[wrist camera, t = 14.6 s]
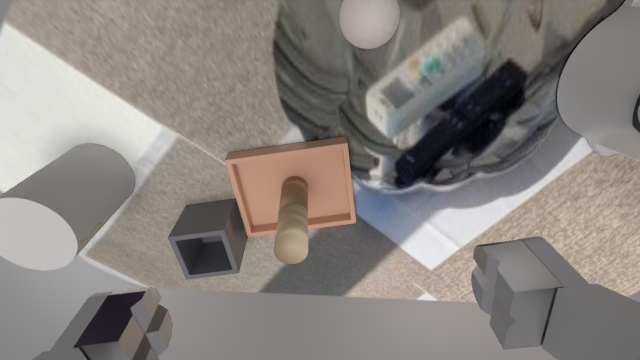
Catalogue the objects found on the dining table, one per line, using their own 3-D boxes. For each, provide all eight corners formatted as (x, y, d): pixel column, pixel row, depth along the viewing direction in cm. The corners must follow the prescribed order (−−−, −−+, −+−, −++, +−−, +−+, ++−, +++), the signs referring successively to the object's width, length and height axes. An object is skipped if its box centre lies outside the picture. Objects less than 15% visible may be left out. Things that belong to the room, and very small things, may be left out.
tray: (345, 136, 40) (347, 143, 38) (354, 213, 45) (356, 222, 43) (228, 152, 41) (224, 160, 39) (250, 227, 46) (247, 237, 44)
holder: (235, 198, 44) (224, 229, 38) (247, 238, 47) (238, 272, 41) (186, 205, 44) (167, 237, 38) (201, 244, 47) (186, 279, 41)
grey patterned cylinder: (83, 207, 44) (11, 275, 33) (50, 149, 40) (-43, 204, 29) (145, 198, 43) (93, 264, 33) (118, 138, 39) (48, 191, 29)
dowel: (305, 174, 42) (305, 234, 31) (309, 196, 43) (310, 261, 33) (279, 177, 42) (270, 239, 31) (284, 199, 43) (277, 265, 33)
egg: (361, 55, 36) (373, 68, 29) (325, 15, 34) (329, 20, 27) (400, 14, 34) (423, 19, 27) (364, -30, 32) (380, -37, 26)
